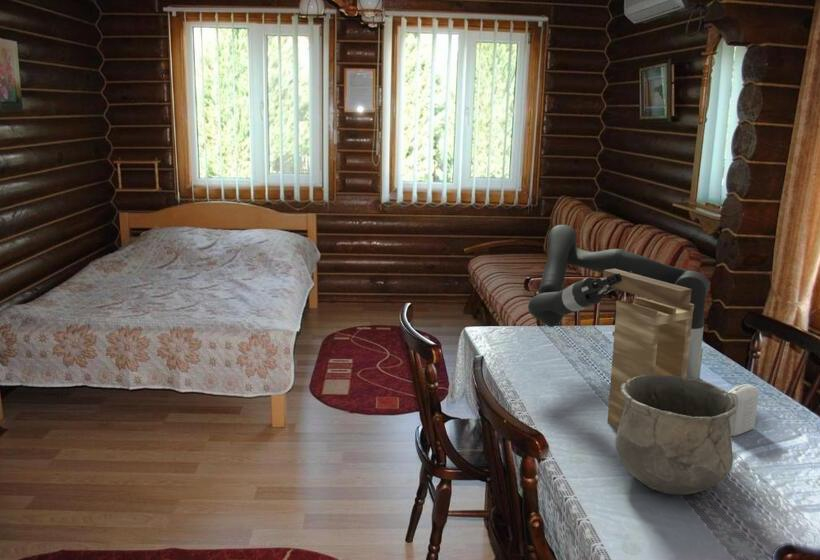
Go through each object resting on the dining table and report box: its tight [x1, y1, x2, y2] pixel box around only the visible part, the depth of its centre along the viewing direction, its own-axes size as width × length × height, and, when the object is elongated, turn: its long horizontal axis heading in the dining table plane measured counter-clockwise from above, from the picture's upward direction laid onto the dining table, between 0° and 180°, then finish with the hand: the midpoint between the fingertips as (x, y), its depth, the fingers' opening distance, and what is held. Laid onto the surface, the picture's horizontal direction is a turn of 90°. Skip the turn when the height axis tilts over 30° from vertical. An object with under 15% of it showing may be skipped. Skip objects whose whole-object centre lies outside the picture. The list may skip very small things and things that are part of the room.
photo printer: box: [727, 383, 760, 437], centre depth 177 cm, size 10×4×12 cm, turn 123°
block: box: [602, 269, 692, 308], centre depth 171 cm, size 4×24×4 cm, turn 31°
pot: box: [615, 375, 737, 496], centre depth 150 cm, size 25×24×21 cm
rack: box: [607, 296, 694, 429], centre depth 177 cm, size 14×12×34 cm
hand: (625, 276), depth 176 cm, fingers closed on block, 4 cm apart
